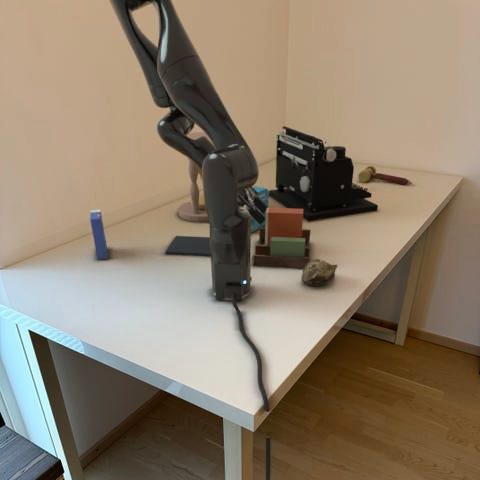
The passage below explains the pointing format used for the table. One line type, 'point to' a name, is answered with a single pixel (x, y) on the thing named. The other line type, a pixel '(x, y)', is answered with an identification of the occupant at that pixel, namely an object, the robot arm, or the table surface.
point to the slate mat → (190, 246)
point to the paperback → (287, 246)
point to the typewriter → (316, 178)
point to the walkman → (98, 234)
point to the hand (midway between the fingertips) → (264, 216)
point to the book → (283, 223)
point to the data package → (265, 199)
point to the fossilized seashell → (318, 272)
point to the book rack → (266, 260)
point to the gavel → (380, 176)
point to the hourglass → (194, 192)
